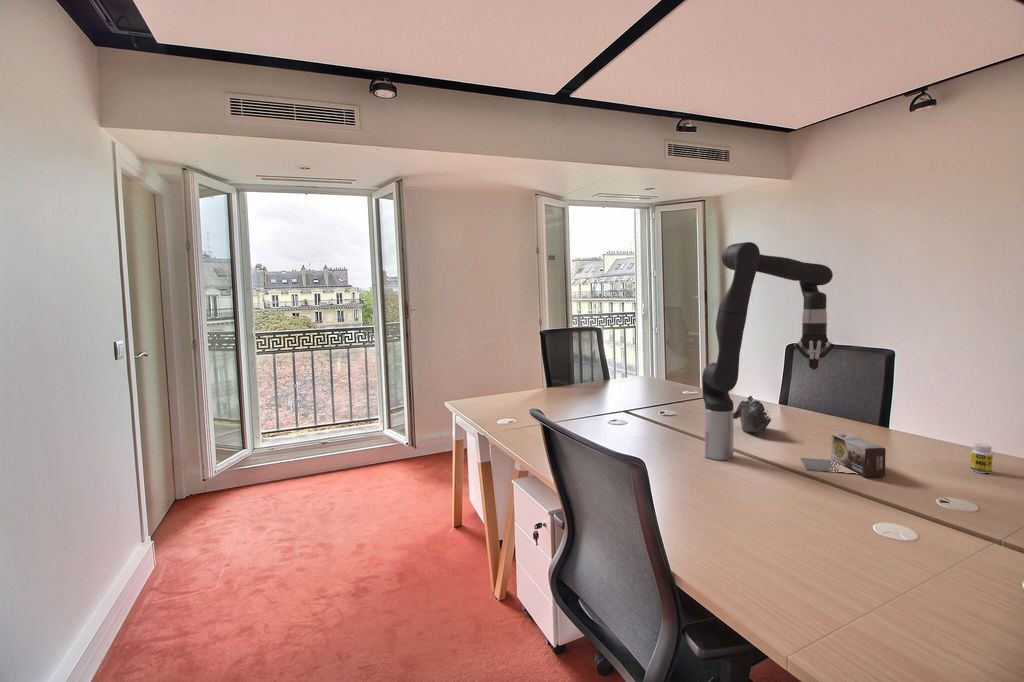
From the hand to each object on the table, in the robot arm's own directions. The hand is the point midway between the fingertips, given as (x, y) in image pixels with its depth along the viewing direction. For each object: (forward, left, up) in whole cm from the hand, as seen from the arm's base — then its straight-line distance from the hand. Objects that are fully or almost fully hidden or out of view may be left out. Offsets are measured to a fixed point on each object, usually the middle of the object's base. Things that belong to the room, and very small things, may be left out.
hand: (813, 369), depth 178 cm
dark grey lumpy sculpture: (-19, +14, -29) cm, 37 cm away
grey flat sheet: (+4, -21, -29) cm, 36 cm away
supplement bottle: (+43, -14, -29) cm, 54 cm away
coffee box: (+6, -14, -24) cm, 28 cm away
